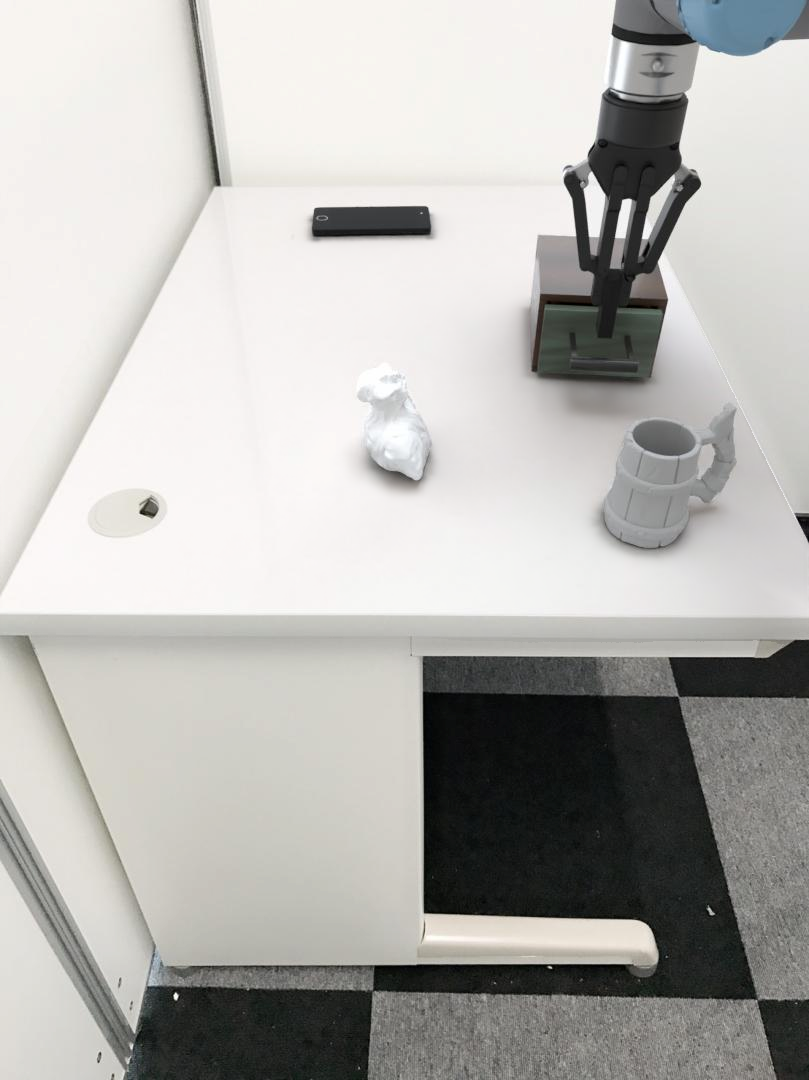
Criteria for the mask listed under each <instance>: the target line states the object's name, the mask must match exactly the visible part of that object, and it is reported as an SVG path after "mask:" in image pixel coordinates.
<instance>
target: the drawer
mask: <svg viewBox="0 0 809 1080" xmlns="http://www.w3.org/2000/svg"><path fill="white" fill-rule="evenodd" d="M651 308H652V306H640V305H627V306H626V307H623V306H618V307H617V313H616V318H615V323H614V329H613V334H612V339H609V338H597V331H596V321H597V315H598V309H599V306H597V305H593V304H592V303H572V302H550V301H547V304H545V308H544V316H543V324H542V333H541V341H540V350H539V358H538V366H537V368H538V373H547V374H549V373H550V374H567V375H586V376H604V377H605V376H607V377H626V378H628V377H629V378H650V377H649V374H650V370H651V365H652V361H653V356H654V352H655V347H656V343H657V338H658V334H659V329H660V325H661V320H662V316H663V314H662V310H660V309H651Z"/></svg>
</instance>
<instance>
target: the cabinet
mask: <svg viewBox="0 0 809 1080" xmlns="http://www.w3.org/2000/svg"><path fill="white" fill-rule="evenodd" d="M589 241H590V252H591V254H593V255H595V256H596V254H597V248H598V242H599V236H589ZM647 241H648V238H642V241H641V246H640V251H639V256H641V254H642V251H643V249H644V247H645V245H646V243H647ZM624 243H625V237H615V241H614V247H613V252H612V258H611V264H610V268H612V269H620V270H621V260H622V254H623V248H624ZM662 276H663V275H662V272H661V268H660V265H659V262H658V263H657V265H656V267H655V269H654V271H653V272H652V273H650V274H645V273H642V274H639V275H637V276H636V278H635V280H634V281H633V283H632V288H631V293H630V298H629V303H628V304H627V305H640V306H652V308H651V309H660V310H662V314H663V316H662V320H661V325H660V329H659V334H658V338H657V343H656V347H655V352H654V356H653V361H652V365H651V370H650V374H649V378H652V374H653V370H654V365H655V360H656V357H657V352H658V347H659V342H660V338H661V334H662V329H663V325H664V320H665V315H666V311H667V306H668V303H669V297H668V294H667V290H666V287H665V283H664V279H663V277H662ZM593 277H594V274H593V273H591V272H589V271H586V272H584V271H582V270H581V269H580V266H579V258H578V249H577V240H576V235H575V236H574V235H552V234H551V235H549V234H537V238H536V248H535V257H534V266H533V277H532V284H531V295H530V303H529V323H530V324H529V326H530V327H529V328H530V331H529V332H530V368H531V369H530V371H531V372H534V373H535V372H536V373H537V372H538V368H537V366H538V358H539V350H540V341H541V333H542V324H543V316H544V308H545V304H547V301H550V302H572V303H592V300H591V290H592V283H593ZM538 373H539V372H538Z"/></svg>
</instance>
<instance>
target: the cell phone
mask: <svg viewBox="0 0 809 1080" xmlns="http://www.w3.org/2000/svg"><path fill="white" fill-rule="evenodd" d="M431 232H432V223H431V216H430V208H429V206H426V205H394V206H391V205H389V206H383V205H382V206H322V207H321V206H319V207H315V208H313V215H312V224H311V234H312V235H313V236H320V235H321V236H327V235H328V236H329V235H331V236H332V235H333V236H335V235H337V236H338V235H398V234H399V235H402V234H405V235H407V234H431Z"/></svg>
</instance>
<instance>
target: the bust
mask: <svg viewBox="0 0 809 1080" xmlns="http://www.w3.org/2000/svg"><path fill="white" fill-rule="evenodd" d="M355 390H356V395H355V396H356V398H357V399H358V401H360V402H362V403H369V404H370V406H371V408H370V409H369V411H368V413H367V414H366V415H365V418H364V419H363V423H362V425H363V433H364V434H363V435H364V440H365V441H364V444H365V445H364V446H365V449H366V451H367V452H368V454H369V455H370V456H371V458H372V460H373V461H375V462H376V463H377V465H378V466H380V467H381V468H382V469H384V470H385V471H389V472H399V473H402V474H403V475H405V476H406V477H408V478H410V479H412V480H414V481H419V480H421V478H422V477H423V474H424V468H425V467H426V463H427V459H428V455H429V452H430V449H431V448H432V445H433V441H432V437H431V435H430V432H429V430H428V427H427V425H426V423H425V421H424V419H423V417H422V415H421V414H420V412H419V411H418V410H417V409H416V405H415V404H414V403H413V400H412V398H411V396H410V395H409V392H408V390H407V380H406V377H405V374H401V372H399V371H397V370H393V369H392V368H391V366H390V365H389V363H388V362H382V363H381V364H380V366H377V367H374V368H371V369H367V370H364V371H363V372H362V373H361V374H360V376H359V378H358V381H357V382H356V389H355Z"/></svg>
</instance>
